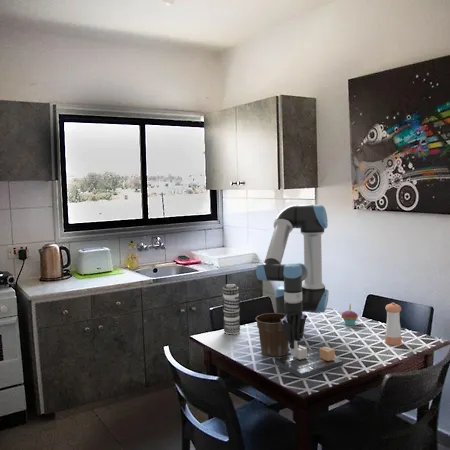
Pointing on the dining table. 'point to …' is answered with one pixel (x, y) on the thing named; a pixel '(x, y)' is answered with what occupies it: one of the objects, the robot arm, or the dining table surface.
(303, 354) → the fader
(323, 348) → the fader
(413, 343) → the dining table surface
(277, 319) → the plant pot
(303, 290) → the robot arm
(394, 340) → the pepper shaker
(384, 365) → the dining table surface
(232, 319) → the decorative candle
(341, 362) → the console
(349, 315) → the cupcake
